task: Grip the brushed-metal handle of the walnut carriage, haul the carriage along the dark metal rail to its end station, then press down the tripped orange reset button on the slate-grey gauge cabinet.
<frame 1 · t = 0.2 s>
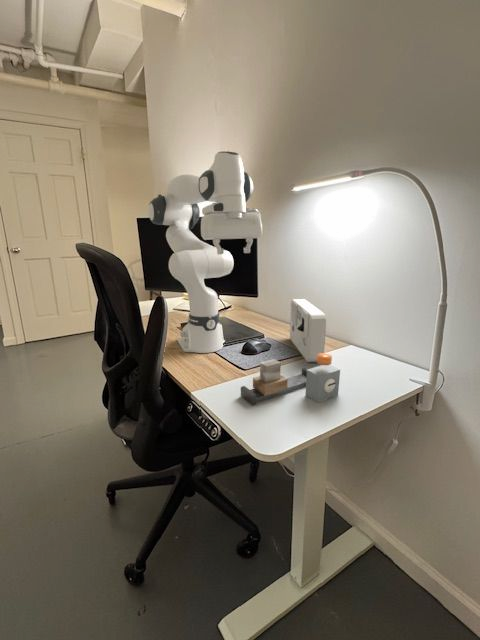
hand: (234, 253, 104), 39 cm above the table, tool pointing down, fingers open, 8 cm apart
carriage: (270, 375, 95), point 6 cm above the table, slide at 0.0 cm
reset button: (324, 359, 92), point 11 cm above the table, slide at 2.0 cm
rounded white slab: (304, 350, 130), on the table
gauge cabinet: (321, 395, 95), on the table
rail: (280, 389, 99), on the table
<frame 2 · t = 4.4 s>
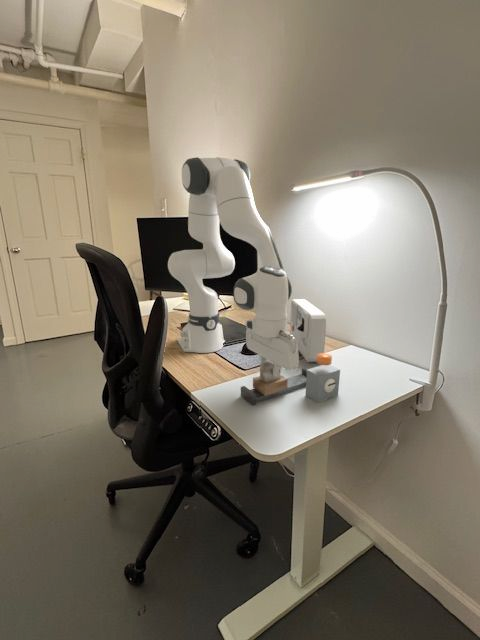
hand: (270, 372, 95), 7 cm above the table, tool pointing down, fingers closed on carriage, 3 cm apart
carriage: (270, 375, 95), point 6 cm above the table, slide at 0.0 cm, touching gripper
everything else where it was.
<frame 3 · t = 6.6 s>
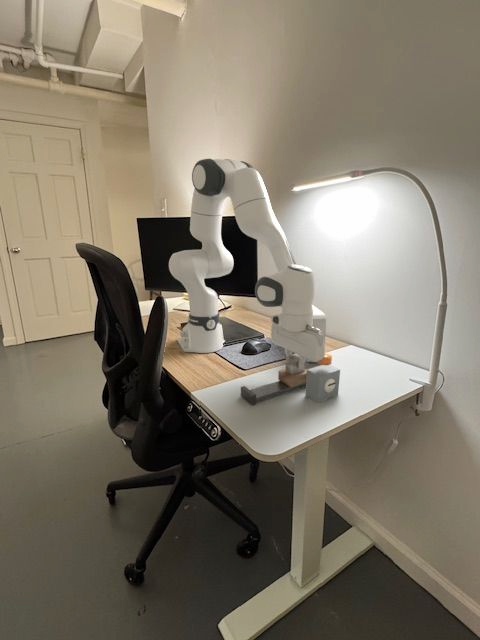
hand: (295, 365, 99), 7 cm above the table, tool pointing down, fingers closed on carriage, 3 cm apart
carriage: (295, 368, 100), point 6 cm above the table, slide at 9.4 cm, touching gripper
everything else where it was.
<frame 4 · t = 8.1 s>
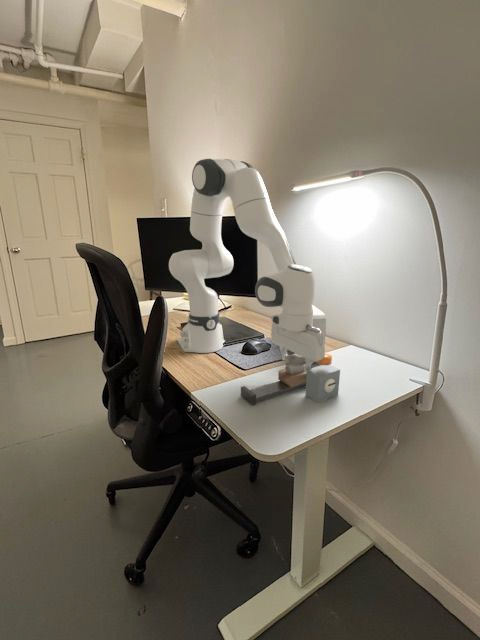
hand: (295, 365, 99), 7 cm above the table, tool pointing down, fingers open, 8 cm apart
carriage: (295, 368, 100), point 6 cm above the table, slide at 9.5 cm
everything else where it was.
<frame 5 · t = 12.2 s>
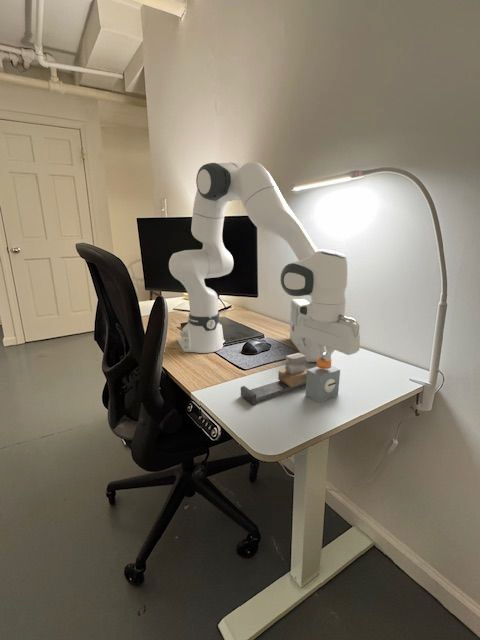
hand: (324, 359, 92), 11 cm above the table, tool pointing down, fingers closed, pressing on reset button
reset button: (324, 362, 92), point 10 cm above the table, slide at 0.9 cm, touching gripper
everything else where it was.
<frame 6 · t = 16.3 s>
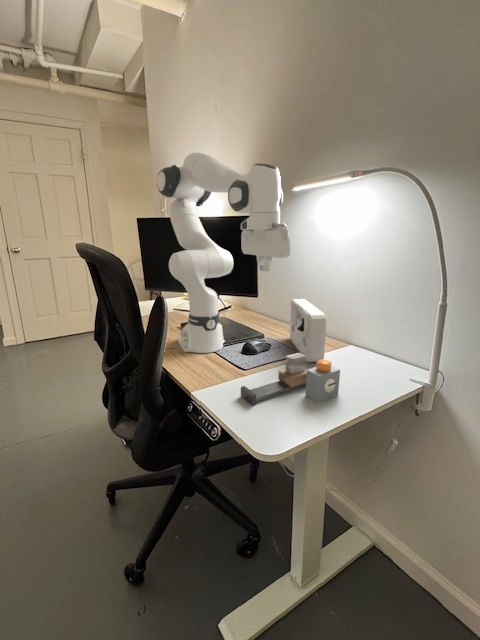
hand: (264, 270, 100), 34 cm above the table, tool pointing down, fingers closed
reset button: (323, 365, 93), point 9 cm above the table, slide at 0.0 cm
everything else where it was.
at the end: carriage slide at 9.5 cm; reset button slide at 0.0 cm; the gripper is holding nothing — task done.
